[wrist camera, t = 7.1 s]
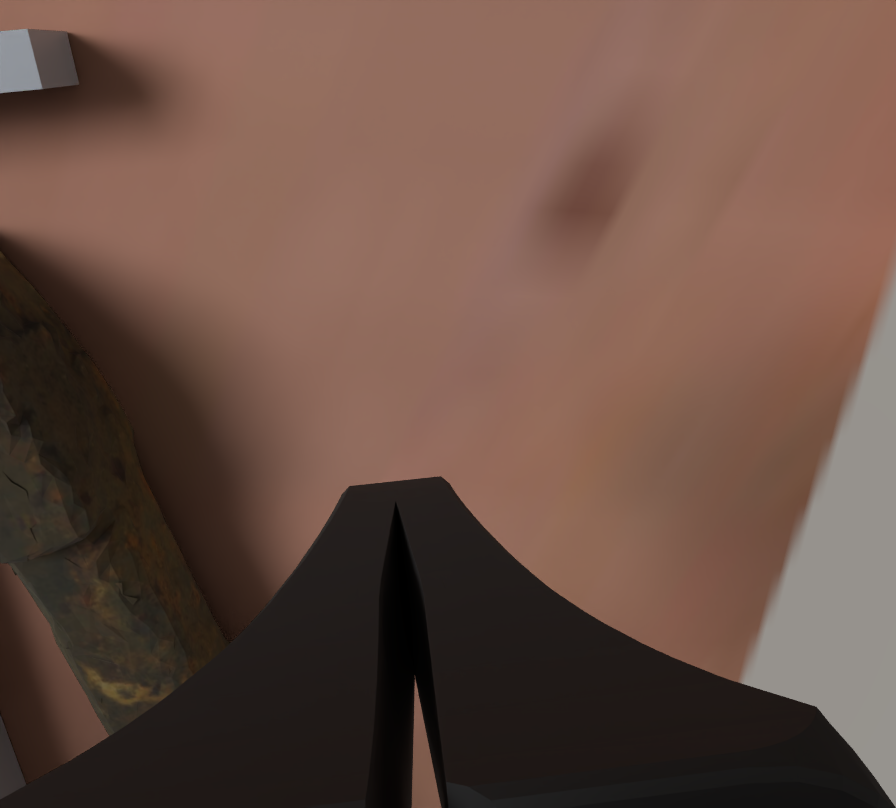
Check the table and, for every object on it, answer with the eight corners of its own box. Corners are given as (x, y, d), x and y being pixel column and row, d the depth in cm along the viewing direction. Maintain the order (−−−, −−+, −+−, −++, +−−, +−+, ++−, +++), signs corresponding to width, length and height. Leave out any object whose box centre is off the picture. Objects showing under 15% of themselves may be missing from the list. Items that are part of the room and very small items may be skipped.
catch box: (37, 908, 26) (10, 980, 24) (-297, 64, 17) (-387, 66, 15) (267, 875, 26) (259, 943, 24) (66, 31, 17) (27, 29, 15)
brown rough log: (342, 806, 26) (341, 953, 22) (215, 839, 26) (188, 993, 22) (104, 192, 19) (30, 233, 14) (-74, 238, 19) (-200, 292, 14)
